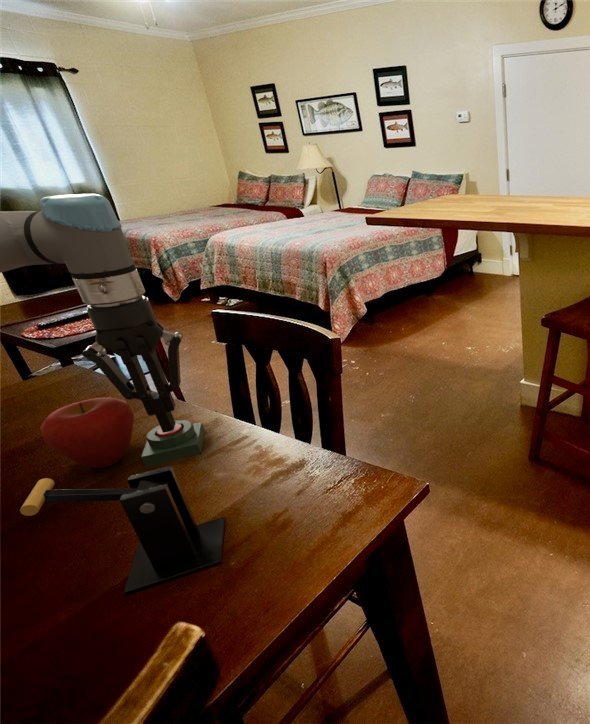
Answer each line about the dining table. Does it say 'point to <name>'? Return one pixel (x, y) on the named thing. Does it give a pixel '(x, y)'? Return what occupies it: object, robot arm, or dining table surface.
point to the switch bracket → (168, 533)
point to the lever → (76, 494)
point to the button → (176, 429)
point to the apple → (91, 431)
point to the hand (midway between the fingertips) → (169, 427)
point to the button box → (173, 444)
